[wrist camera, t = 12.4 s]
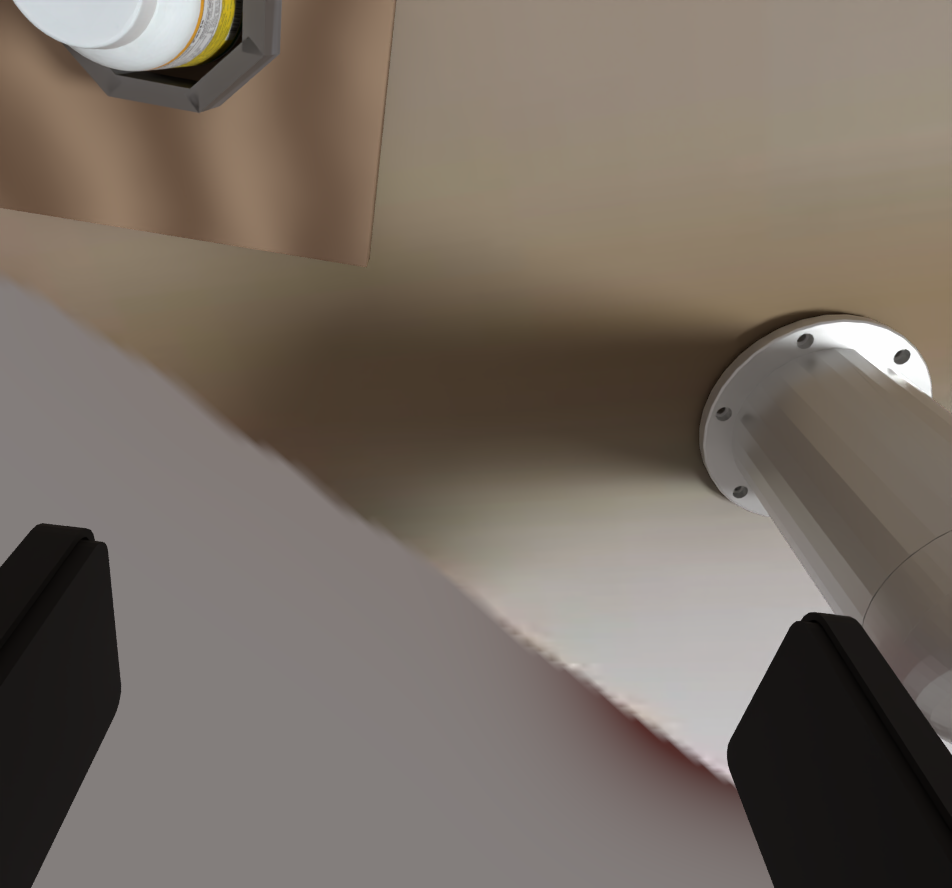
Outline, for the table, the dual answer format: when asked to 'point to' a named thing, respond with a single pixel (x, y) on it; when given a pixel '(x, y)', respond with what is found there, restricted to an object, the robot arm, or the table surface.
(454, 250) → the table surface
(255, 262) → the table surface
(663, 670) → the table surface
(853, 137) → the table surface
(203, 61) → the supplement bottle
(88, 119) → the holder
